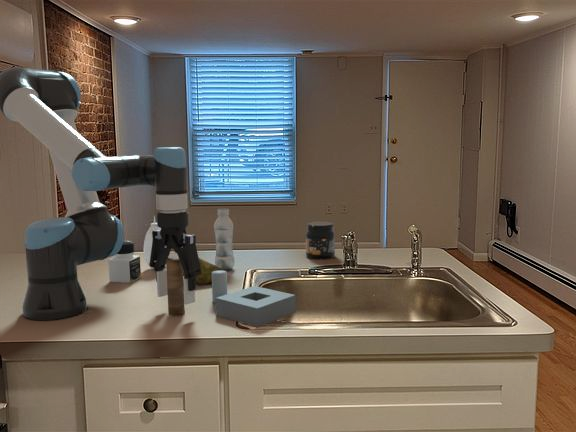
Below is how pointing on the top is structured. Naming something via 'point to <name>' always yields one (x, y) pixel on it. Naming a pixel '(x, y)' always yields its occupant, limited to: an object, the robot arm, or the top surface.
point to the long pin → (175, 287)
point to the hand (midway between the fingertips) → (176, 299)
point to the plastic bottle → (224, 240)
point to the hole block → (255, 305)
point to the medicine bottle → (125, 265)
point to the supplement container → (320, 240)
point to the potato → (205, 272)
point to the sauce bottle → (149, 242)
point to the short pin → (219, 284)
